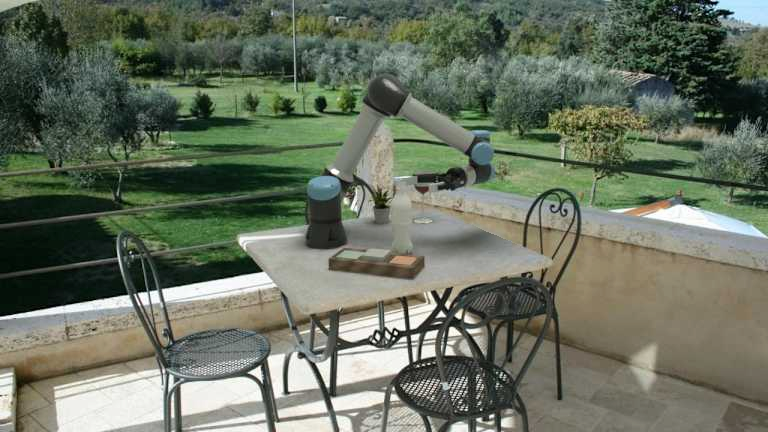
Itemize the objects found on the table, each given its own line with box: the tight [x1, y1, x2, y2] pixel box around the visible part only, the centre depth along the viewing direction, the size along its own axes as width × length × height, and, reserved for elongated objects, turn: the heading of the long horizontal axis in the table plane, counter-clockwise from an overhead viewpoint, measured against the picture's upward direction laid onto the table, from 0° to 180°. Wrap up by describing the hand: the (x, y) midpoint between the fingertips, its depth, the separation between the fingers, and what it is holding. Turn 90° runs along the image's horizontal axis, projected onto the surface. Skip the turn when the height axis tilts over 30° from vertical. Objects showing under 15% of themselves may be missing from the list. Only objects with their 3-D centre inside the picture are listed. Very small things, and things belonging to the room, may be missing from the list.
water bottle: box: [390, 180, 413, 254], centre depth 207 cm, size 7×7×25 cm
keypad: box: [327, 247, 426, 280], centre depth 196 cm, size 28×12×4 cm, turn 69°
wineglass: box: [412, 169, 434, 224], centre depth 246 cm, size 8×9×20 cm
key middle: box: [362, 248, 392, 262], centre depth 195 cm, size 7×7×3 cm
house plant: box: [366, 183, 396, 224], centre depth 247 cm, size 14×14×16 cm
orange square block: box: [389, 255, 418, 265], centre depth 193 cm, size 7×7×3 cm
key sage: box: [336, 250, 365, 260], centre depth 199 cm, size 7×7×3 cm
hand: (415, 185), depth 207 cm, fingers open, 13 cm apart
